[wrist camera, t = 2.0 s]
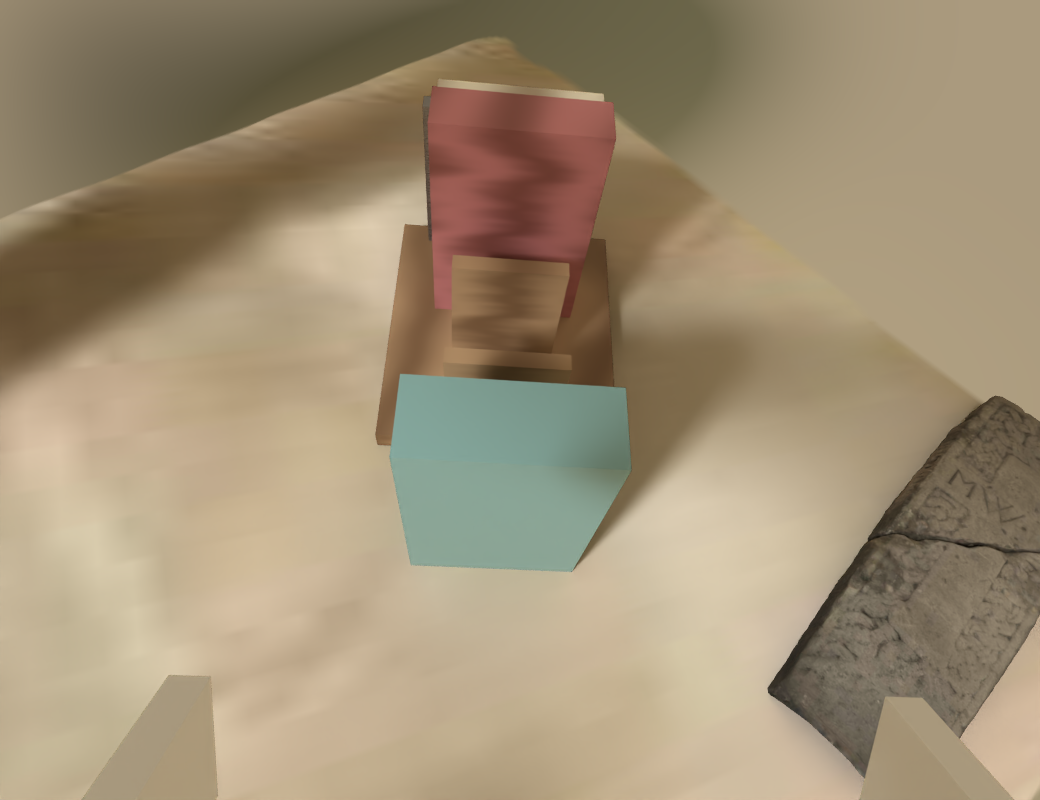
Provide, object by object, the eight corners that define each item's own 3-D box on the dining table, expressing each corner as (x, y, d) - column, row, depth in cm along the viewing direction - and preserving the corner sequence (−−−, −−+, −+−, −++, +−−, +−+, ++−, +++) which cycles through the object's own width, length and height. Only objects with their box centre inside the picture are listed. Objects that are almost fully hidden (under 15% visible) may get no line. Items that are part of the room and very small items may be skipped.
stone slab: (763, 675, 38) (1007, 374, 49) (742, 680, 41) (977, 394, 52) (919, 830, 35) (1141, 473, 46) (885, 824, 38) (1102, 488, 49)
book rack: (377, 444, 45) (339, 274, 29) (405, 237, 54) (387, 26, 39) (612, 457, 46) (692, 299, 31) (601, 252, 55) (658, 52, 40)
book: (410, 565, 41) (389, 457, 27) (417, 503, 43) (400, 373, 29) (571, 571, 42) (631, 470, 28) (570, 510, 44) (625, 387, 30)
